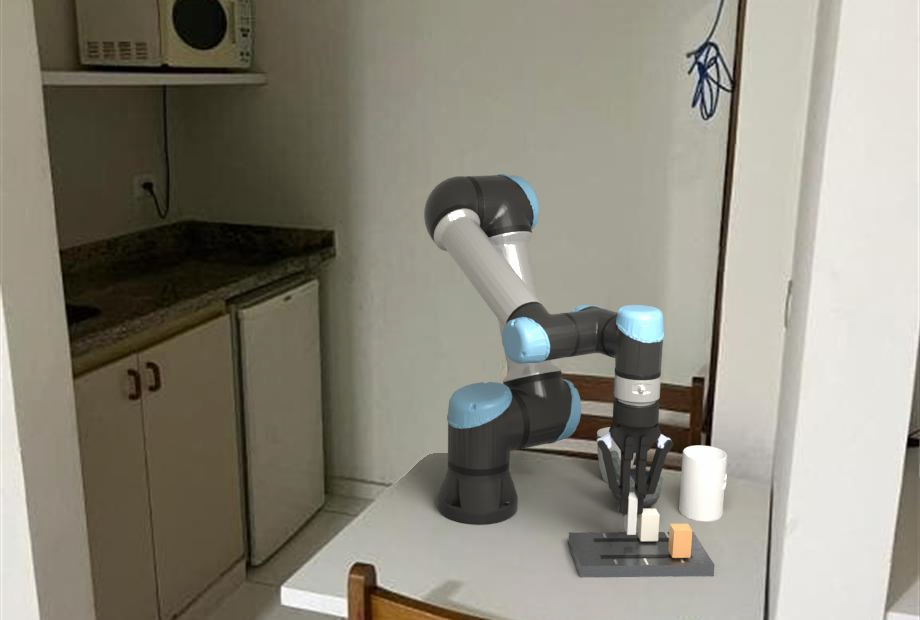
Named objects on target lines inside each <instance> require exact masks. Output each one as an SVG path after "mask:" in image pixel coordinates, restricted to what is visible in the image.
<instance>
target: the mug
mask: <svg viewBox="0 0 920 620" xmlns="http://www.w3.org/2000/svg"><path fill="white" fill-rule="evenodd" d="M681 458H682V461H681V474H680V475H681V476H680V491H679V507H678V511H679V513H680V515H682V516H684V517H685V518H686V519H690V520H691V521H697V522H707V523H708V522H709V523H710V522H716V521H719V520H720V519H721V518H722V516H723V513H724V499H725V489H726V488H727V480H728V479H727V478H728V475H727V463H728V454H727V453H726V452H725V451H724V450H722V449H720V448H718V447H715V446H710V445H699V444H698V445H690V446H687V447H685V448H684V449H683V450H682V457H681Z"/></svg>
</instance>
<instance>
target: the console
mask: <svg viewBox="0 0 920 620" xmlns="http://www.w3.org/2000/svg"><path fill="white" fill-rule="evenodd" d="M669 532H670V531H659V533H658V541H640V539H639V537H638V535H637V531H636V535H627V533H626V531H625V532H624V531H609V532H608V531H605V532H603V531H601V532H597V531H596V532H590V531H589V532H588V531H587V532H581V531H580V532H568V546H569V550H570V551H571V555H572V558H573V560H574V565H575V567H576V571H577V572H578V576H579V577H580V578H627V577H628V578H635V577H637V578H640V577H641V578H642V577H646V578H648V577H649V578H650V577H656V578H657V577H714V574H715V563H714V562H713V560H712V559H711V558H710V556H709V554H708V552H707V551H706V549H705V548H704V545H703V544H702V542H701V541H700V540H699V538H698V536H697V535H696V533H695V532H694V531H692V543H691V557H690V558H672V556H671V554H670V553H669V551H668V547H669Z"/></svg>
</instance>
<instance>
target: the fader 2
mask: <svg viewBox="0 0 920 620" xmlns="http://www.w3.org/2000/svg"><path fill="white" fill-rule="evenodd" d="M668 532H669V547H668V551H669V553H670V554H671V556H672V558H690V557H691V543H692V532H693V530H692V527H691V526H690V525H689V523H669V531H668Z"/></svg>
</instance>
